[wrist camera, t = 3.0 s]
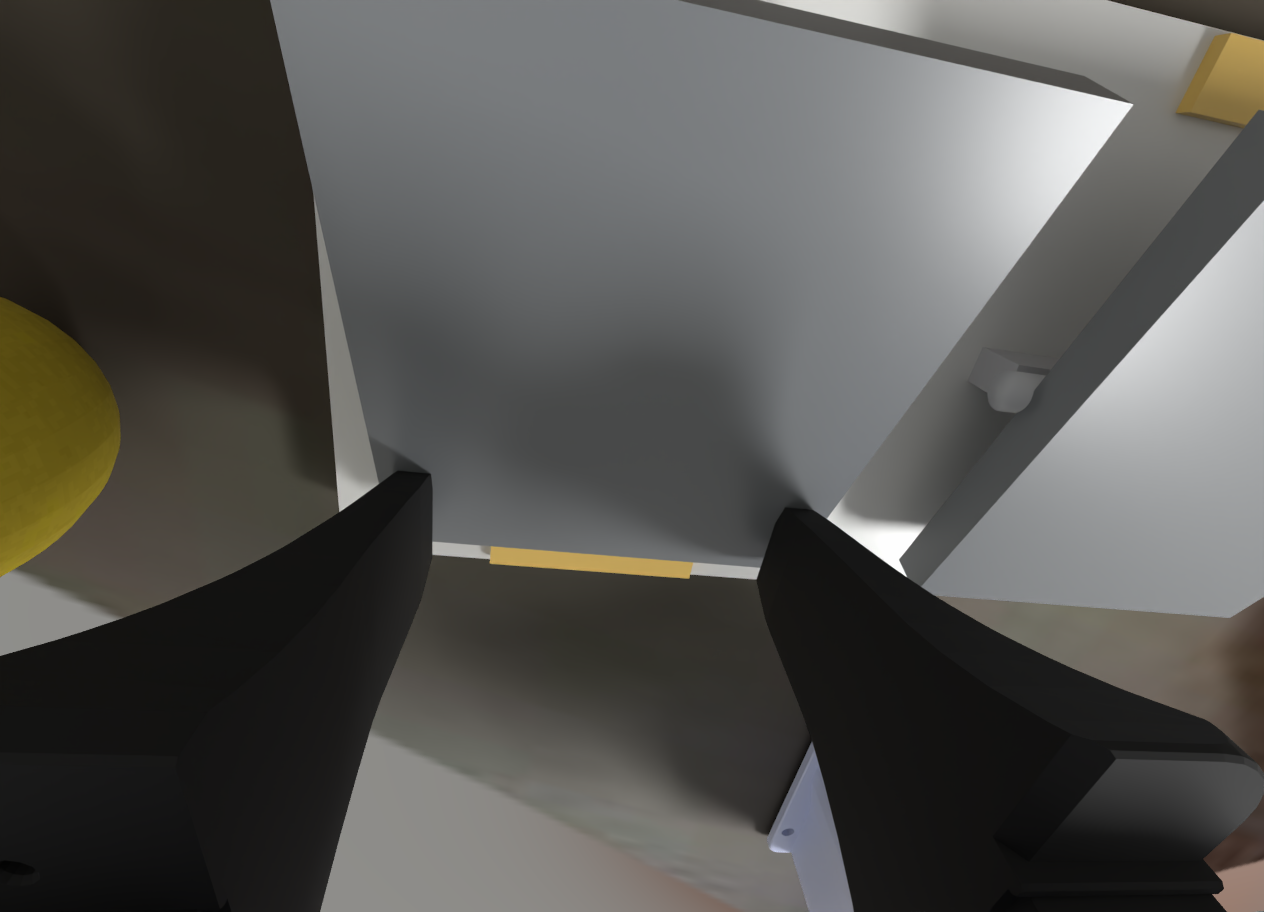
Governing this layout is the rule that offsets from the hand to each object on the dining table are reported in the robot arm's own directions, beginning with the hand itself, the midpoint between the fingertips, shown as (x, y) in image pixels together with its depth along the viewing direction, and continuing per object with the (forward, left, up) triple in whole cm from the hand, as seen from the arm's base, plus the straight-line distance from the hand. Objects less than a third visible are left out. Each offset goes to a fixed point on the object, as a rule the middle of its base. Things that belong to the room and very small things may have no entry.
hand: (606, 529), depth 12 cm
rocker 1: (+4, 0, 0) cm, 4 cm away
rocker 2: (+4, -12, 0) cm, 13 cm away
